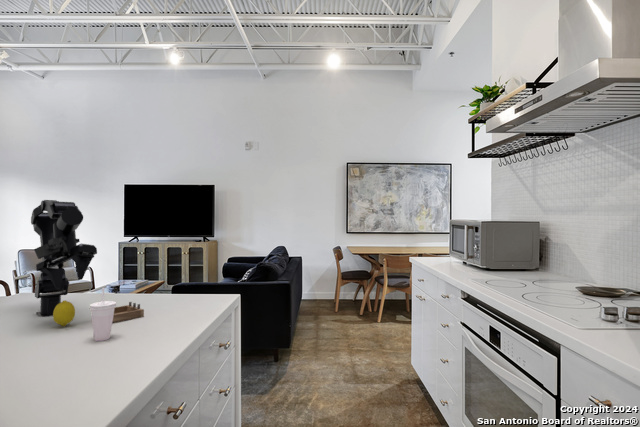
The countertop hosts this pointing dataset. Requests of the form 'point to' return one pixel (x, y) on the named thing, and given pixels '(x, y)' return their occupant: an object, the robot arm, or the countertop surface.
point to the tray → (127, 312)
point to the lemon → (64, 313)
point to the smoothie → (102, 318)
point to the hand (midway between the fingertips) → (68, 284)
